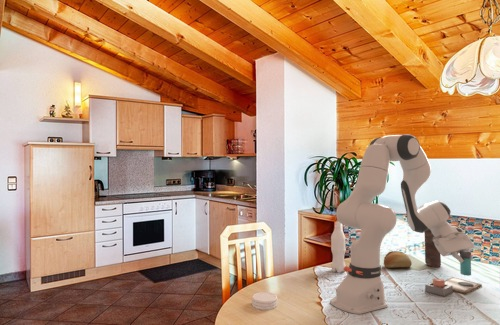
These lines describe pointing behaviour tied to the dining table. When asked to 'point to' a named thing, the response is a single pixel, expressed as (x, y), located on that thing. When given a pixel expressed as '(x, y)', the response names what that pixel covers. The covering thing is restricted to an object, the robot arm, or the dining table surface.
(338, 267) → the water bottle
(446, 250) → the robot arm
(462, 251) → the teal spice jar
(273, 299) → the coaster
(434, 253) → the candle
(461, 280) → the clipboard
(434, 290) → the button housing
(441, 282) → the button
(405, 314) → the dining table surface
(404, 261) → the bread roll
